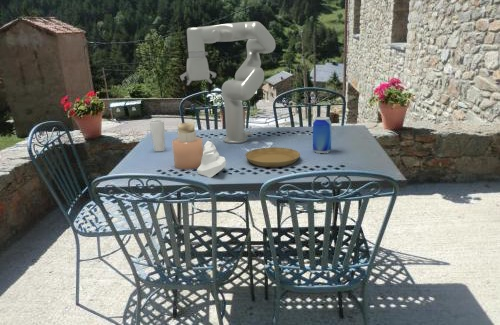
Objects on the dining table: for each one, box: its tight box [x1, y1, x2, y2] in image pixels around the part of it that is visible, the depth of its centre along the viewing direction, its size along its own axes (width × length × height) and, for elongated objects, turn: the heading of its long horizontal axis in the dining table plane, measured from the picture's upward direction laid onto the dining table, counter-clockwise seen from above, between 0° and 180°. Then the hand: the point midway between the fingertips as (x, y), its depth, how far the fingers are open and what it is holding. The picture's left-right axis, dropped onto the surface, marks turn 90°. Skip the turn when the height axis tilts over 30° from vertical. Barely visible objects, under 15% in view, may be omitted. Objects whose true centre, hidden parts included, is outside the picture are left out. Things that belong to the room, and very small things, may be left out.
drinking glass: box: [149, 119, 166, 153], centre depth 210 cm, size 7×7×15 cm
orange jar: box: [171, 130, 204, 170], centre depth 186 cm, size 13×13×15 cm
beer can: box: [312, 116, 333, 154], centre depth 197 cm, size 8×8×16 cm
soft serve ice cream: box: [196, 140, 227, 179], centre depth 174 cm, size 12×15×14 cm
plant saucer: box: [245, 146, 301, 168], centre depth 188 cm, size 24×24×3 cm
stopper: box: [177, 122, 196, 133], centre depth 184 cm, size 7×7×6 cm
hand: (199, 92), depth 201 cm, fingers open, 9 cm apart
